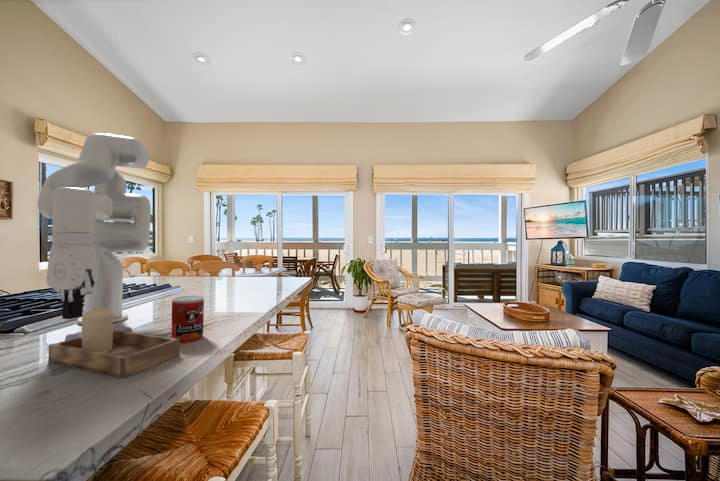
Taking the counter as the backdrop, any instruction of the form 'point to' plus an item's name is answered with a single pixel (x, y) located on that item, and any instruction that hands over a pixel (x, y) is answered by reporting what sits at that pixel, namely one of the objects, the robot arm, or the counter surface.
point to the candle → (97, 330)
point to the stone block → (115, 327)
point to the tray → (116, 354)
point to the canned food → (187, 318)
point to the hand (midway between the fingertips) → (72, 317)
